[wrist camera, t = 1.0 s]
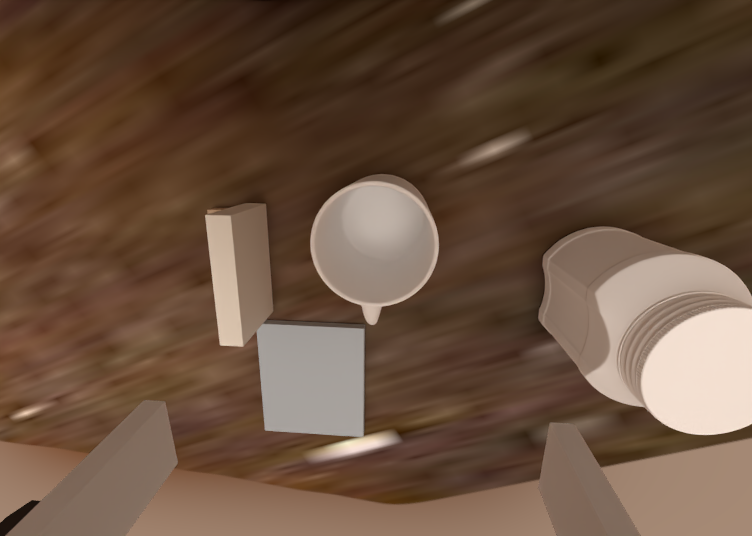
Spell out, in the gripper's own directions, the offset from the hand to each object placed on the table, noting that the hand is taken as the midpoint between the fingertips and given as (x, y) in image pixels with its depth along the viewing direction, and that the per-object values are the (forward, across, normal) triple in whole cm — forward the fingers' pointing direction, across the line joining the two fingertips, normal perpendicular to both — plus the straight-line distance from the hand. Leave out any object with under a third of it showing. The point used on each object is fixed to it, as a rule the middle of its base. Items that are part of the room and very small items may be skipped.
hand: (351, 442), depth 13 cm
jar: (+24, +19, -3) cm, 31 cm away
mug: (+25, 0, +1) cm, 25 cm away
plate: (+24, -8, -14) cm, 29 cm away
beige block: (+24, -14, -1) cm, 28 cm away
